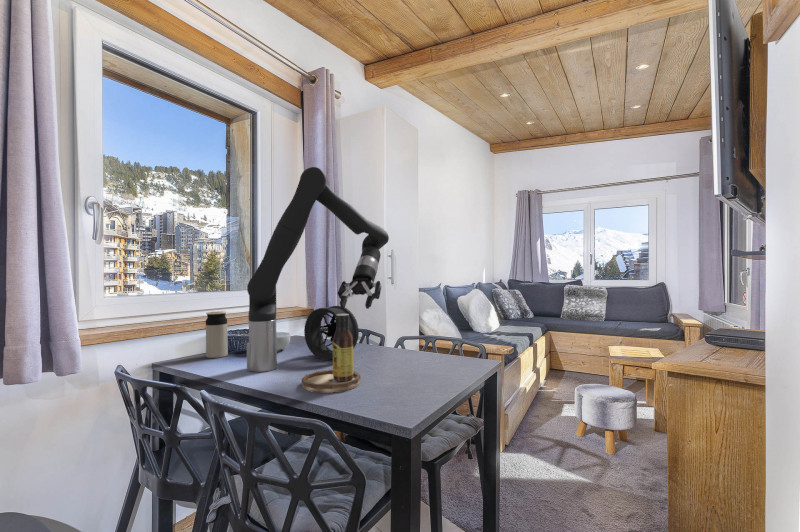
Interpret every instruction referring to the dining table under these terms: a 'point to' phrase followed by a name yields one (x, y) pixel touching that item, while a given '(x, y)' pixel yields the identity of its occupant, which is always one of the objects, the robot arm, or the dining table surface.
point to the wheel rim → (314, 331)
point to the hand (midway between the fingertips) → (354, 307)
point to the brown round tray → (328, 382)
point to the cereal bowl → (282, 339)
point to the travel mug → (216, 334)
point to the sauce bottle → (342, 350)
